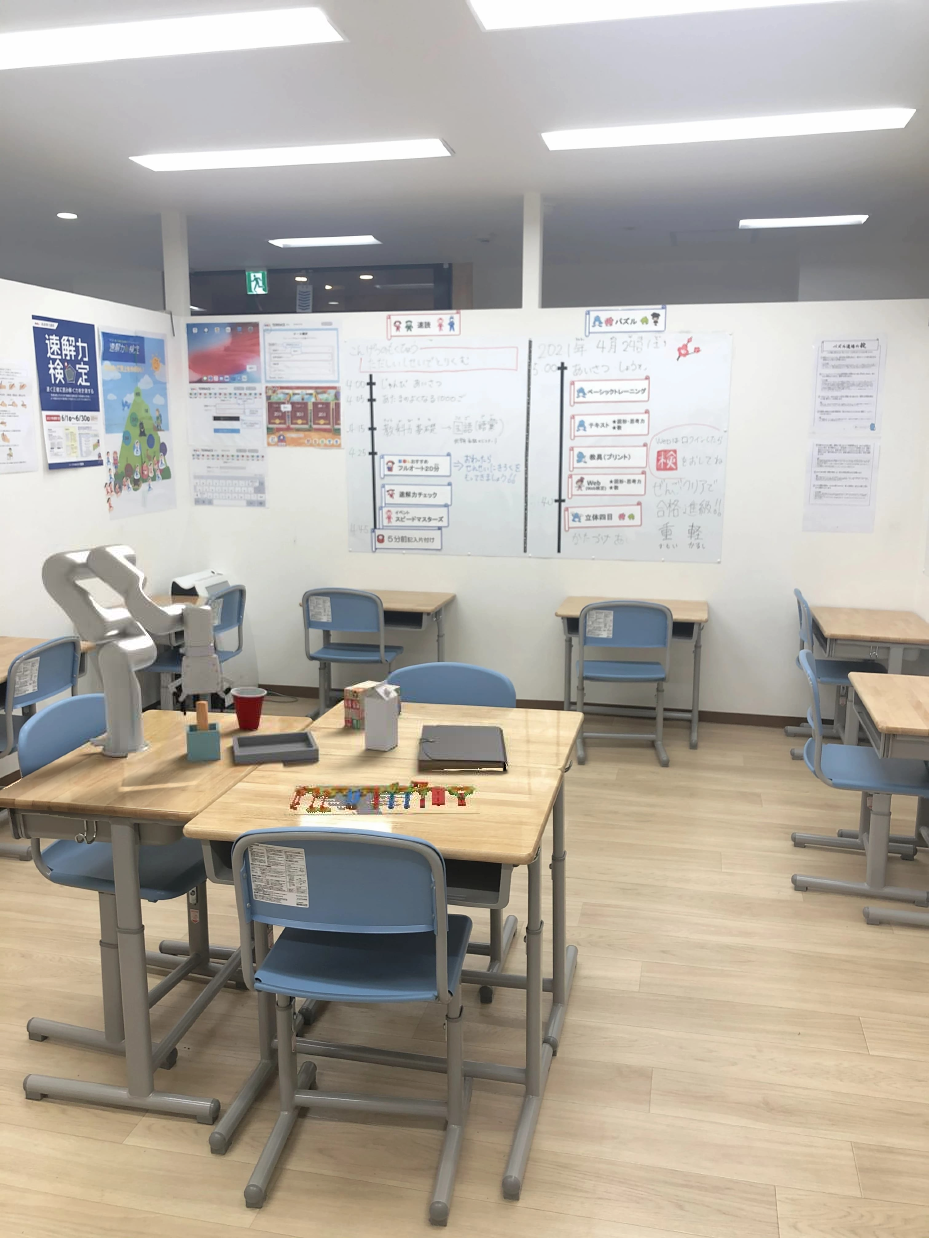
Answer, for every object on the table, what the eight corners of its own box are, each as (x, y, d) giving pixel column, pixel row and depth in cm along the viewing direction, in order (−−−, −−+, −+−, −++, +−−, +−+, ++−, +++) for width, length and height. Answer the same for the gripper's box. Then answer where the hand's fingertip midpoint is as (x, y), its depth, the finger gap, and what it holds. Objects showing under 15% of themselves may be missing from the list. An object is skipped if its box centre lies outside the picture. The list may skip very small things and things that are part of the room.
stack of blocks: (386, 711, 303) (386, 674, 301) (401, 714, 300) (401, 677, 298) (344, 726, 285) (343, 687, 283) (359, 729, 282) (359, 690, 280)
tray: (235, 768, 245) (235, 755, 244) (232, 748, 262) (232, 736, 261) (318, 761, 251) (318, 748, 250) (310, 742, 268) (310, 730, 267)
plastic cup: (263, 733, 277) (262, 694, 275) (227, 733, 277) (226, 694, 275) (271, 723, 288) (270, 686, 286) (237, 723, 288) (235, 685, 286)
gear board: (475, 777, 232) (479, 805, 213) (475, 787, 232) (479, 816, 213) (296, 778, 230) (283, 807, 211) (296, 788, 231) (284, 817, 212)
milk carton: (364, 749, 262) (363, 684, 259) (376, 742, 268) (375, 678, 265) (387, 752, 259) (386, 686, 256) (398, 745, 266) (397, 680, 263)
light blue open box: (187, 765, 247) (186, 733, 245) (187, 755, 255) (186, 724, 253) (220, 762, 249) (219, 730, 248) (219, 753, 257) (218, 722, 256)
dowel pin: (198, 757, 250) (195, 704, 247) (198, 754, 253) (195, 701, 250) (209, 756, 251) (207, 703, 248) (209, 753, 254) (207, 700, 251)
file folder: (422, 723, 275) (502, 725, 275) (422, 737, 276) (502, 738, 276) (416, 758, 242) (508, 759, 242) (416, 773, 243) (507, 774, 243)
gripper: (165, 655, 241) (169, 719, 244) (233, 651, 246) (236, 713, 248) (166, 650, 248) (170, 712, 251) (232, 646, 253) (235, 707, 256)
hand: (203, 712), depth 250 cm, fingers open, 9 cm apart
